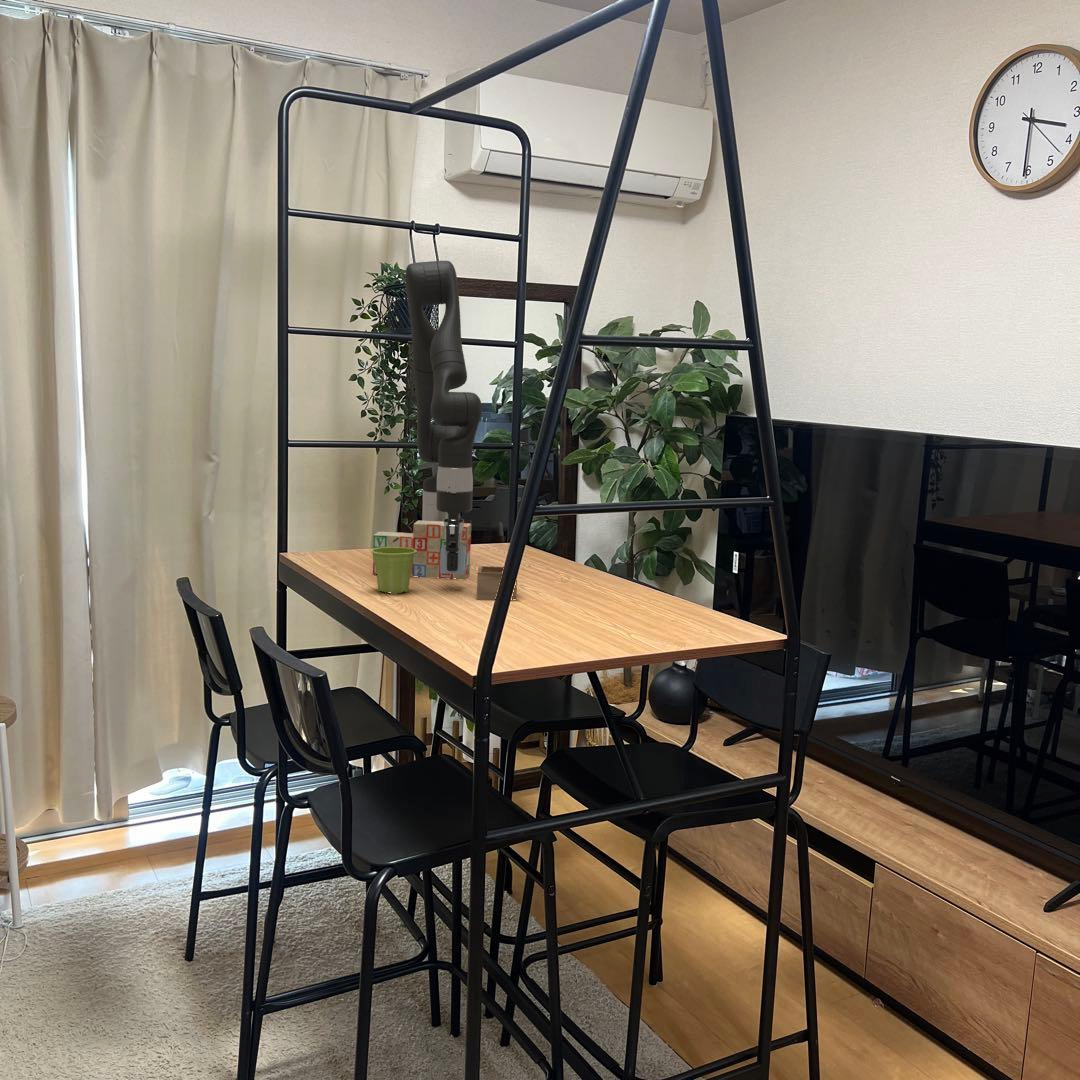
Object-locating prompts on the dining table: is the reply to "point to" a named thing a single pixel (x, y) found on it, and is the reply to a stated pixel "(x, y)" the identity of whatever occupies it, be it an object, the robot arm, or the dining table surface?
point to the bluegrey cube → (460, 561)
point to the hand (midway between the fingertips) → (453, 567)
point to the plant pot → (393, 568)
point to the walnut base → (490, 582)
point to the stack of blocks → (425, 547)
